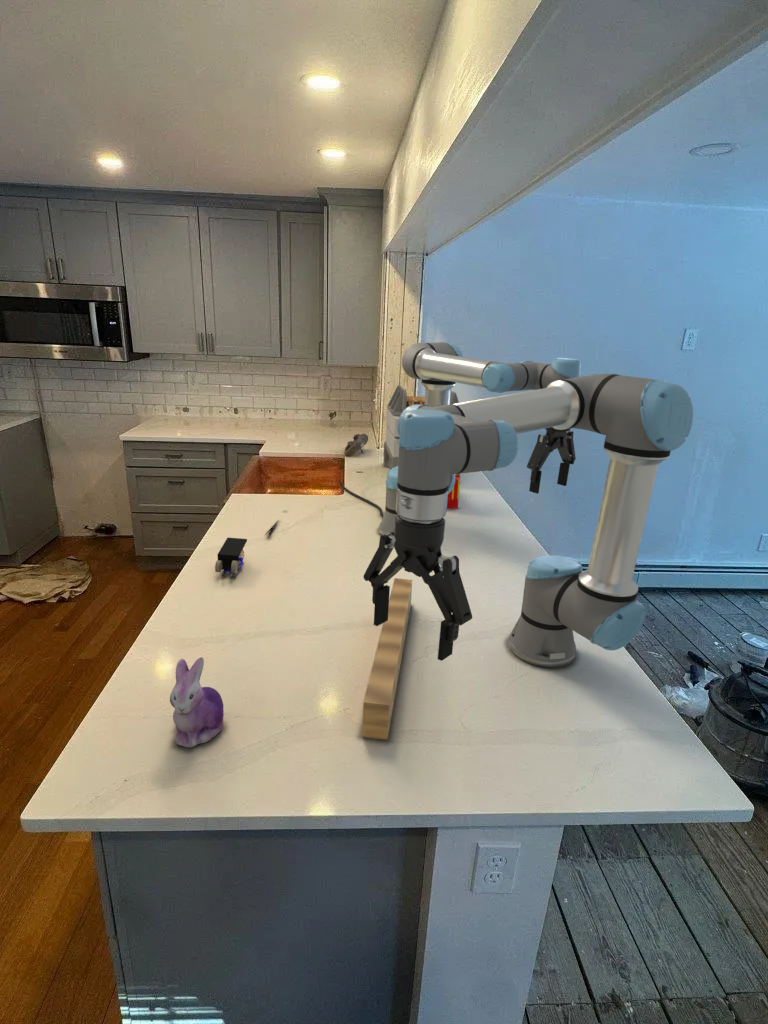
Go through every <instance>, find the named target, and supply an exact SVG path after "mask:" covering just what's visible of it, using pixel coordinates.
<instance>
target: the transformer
mask: <svg viewBox="0 0 768 1024" xmlns="http://www.w3.org/2000/svg"><path fill="white" fill-rule="evenodd" d="M407 394H408V393H407V390H406V389H404V388H403V387H402V385H399V384H398V385H397V386H396V388H395V390H394V392H393V394H392V395H391V398H390V400H389V402H388V404H387V405H386V413H385V414H386V415H385V423H386V428H385V438H384V442H383V466H384V467H388V468H389V470H390V469H392V468H394V467H397V466H398V458H399V445H398V441H399V434H398V429H397V427H398V420H399V417H400V415H401V414H402V412H403V411H404V410H405V409H406V408H407V407H409V406H411V405H415V404H418V405H425V396H415V395H414V396H413V395H412V396H411V395H407ZM457 403H460V402H459V398H458V395H457V392H455V391H453V390H451V391H450V405H451V404H457ZM456 475H460V476H461V474H456Z"/></svg>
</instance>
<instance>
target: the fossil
mask: <svg viewBox="0 0 768 1024" xmlns="http://www.w3.org/2000/svg"><path fill="white" fill-rule="evenodd" d="M352 439H353V440H350V441H349V440H348V442H347V445H346V446H345V448H344V453H343V454H344V456H345V457H351V456H353V455H356V454H357V453H358V452H359V451H360V452H362V453H364V451H363V450H362V449H363V448H364V446H365V445H367V443H368V442H369V435H368V434H366V433H365V432H364V433H361V434H360V433H357V434H354V435H353V437H352Z"/></svg>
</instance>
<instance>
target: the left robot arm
mask: <svg viewBox="0 0 768 1024" xmlns="http://www.w3.org/2000/svg"><path fill="white" fill-rule="evenodd" d="M581 363H582V362H581V361H580V360H579V359H577V358H572V357H571V358H570V357H554V358H553V359H552V362H551V363H543V362H536V361H533V360H532V361H531V360H522V361H518V362H515V363H513V362H500V361H494V360H493V361H491V360H487V359H478V358H473V357H466V356H464V354H463V352H462V350H460V347H459V346H457V345H456V344H454V343H451V342H445V341H443V342H442V341H441V342H440V341H439V342H438V341H437V342H415V343H413V344H411V345H410V346H408V347H407V348H406V349H405V350H404V352H403V355H402V357H401V365H402V366H401V367H402V369H403V371H404V373H405V374H406V375H407V376H408V377H409V378H412V379H414V380H421V385H422V386H423V387H424V389H425V392H424V397H425V405H427V406H429V407H437V406H443V405H450V391H452V389H453V388H454V387H455V386H456V383H457V384H461V385H462V384H463V385H468V386H474V387H478V388H482V389H486V390H487V391H488V392H490V393H498V394H499V393H500V394H503V393H508V392H522V391H532V390H538V389H544V388H547V386H548V385H549V384H551V383H552V382H555V381H559V380H565V379H571V378H576V377H581ZM543 430H545V434H541V433H539V434H538V435H537V438H536V439H537V440H536V443H535V445H534V448H533V450H532V452H531V455H530V457H529V459H528V462H527V464H526V468H527V469H529V470H531V471H530V473H531V474H530V479H529V480H530V482H529V490H528V491H529V492H530V493H532V494H533V493H534V494H537V495H538V494H540V487H541V479H542V474H543V473H542V472H543V471H542V470H541V469H542V467H543V466H544V464H545V462H546V461H547V459H548V458H549V456H550V454H551V453H553V452H554V450H557V452H558V454H559V456H560V458H561V462H560V463H559V469H558V475H557V481H556V485H559V486H564V487H566V486H567V484H568V479H569V472H570V465H574V463H575V461H576V458H577V456H576V450H575V449H576V448H575V443H574V430H572V428H569V429H564V430H558V429H555V428H553V427H549V428H544V429H543ZM397 479H398V466H397V467H394V468H392V469H390V468H389V470H388V472H387V475H386V479H385V504H384V505H385V507H384V508H385V509H384V513H383V509H382V507H380V506H379V505H378V504H376V503H374V502H373V501H371V500H369V499H367V498H365V497H362V496H361V495H358V494H357V493H355V492H352V491H351V490H349V489H348V488H347V487H345V485H344V484H343V483H342V481H341V480H338V483H339V485H340V487H341V488H342V489H343V490H344V491H346V492H347V493H349V494H350V495H351V496H354V497H356V498H358V499H360V500H362V501H364V502H366V503H368V504H369V505H371V506H373V507H375V508H377V509H378V510H379V515H380V516H381V517H382V519H381V522H379V525H378V533H379V534H380V536H381V535H384V534H387V533H390V532H394V528H395V517H396V515H397V512H396V498H397V482H398V481H397ZM454 484H455V474H454V475H450V478H449V485H448V494H449V493H450V492H451V491H452V489H453V487H454Z"/></svg>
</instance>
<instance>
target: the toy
mask: <svg viewBox="0 0 768 1024" xmlns="http://www.w3.org/2000/svg"><path fill="white" fill-rule="evenodd" d="M460 483H461V474H460V475H456V474H455V484H454V487H453V489H452V491H451V492H450V493H449V494H448V497H447V509H459V500H460V499H459V498H460Z"/></svg>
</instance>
